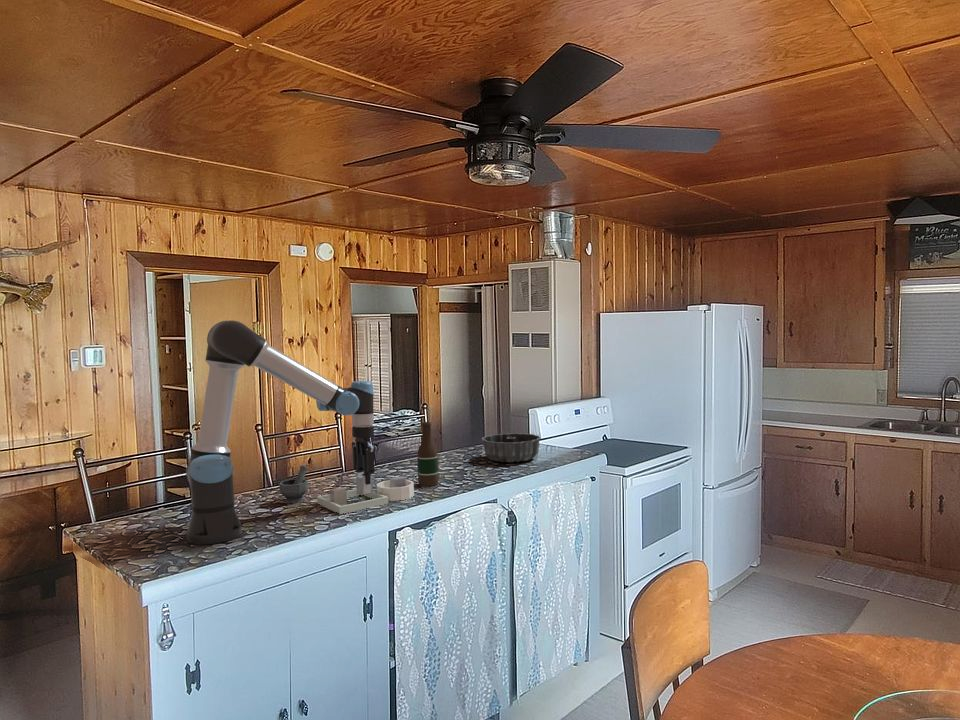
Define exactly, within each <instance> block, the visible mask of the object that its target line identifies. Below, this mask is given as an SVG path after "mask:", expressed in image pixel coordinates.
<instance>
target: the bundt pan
mask: <svg viewBox="0 0 960 720" xmlns="http://www.w3.org/2000/svg"><path fill="white" fill-rule="evenodd" d="M540 440H541V436H540V435H536V434H534V433H533V434H531V433H518V432H517V433H515V432H512V433H511V432H510V433H499V434H498V433H497V434H490V435H485V436H484V437H482V438H481V441H482V442H483V449H484V453H485V456H486V457H487V458H488V460H490V461H493V460H494V462H500V463H505V462H506V463H513V462H515V463H519V462H526V461H531V460H533V459H534V458H535V457H536V456H537V455H538V453H539V446H540Z"/></svg>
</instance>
